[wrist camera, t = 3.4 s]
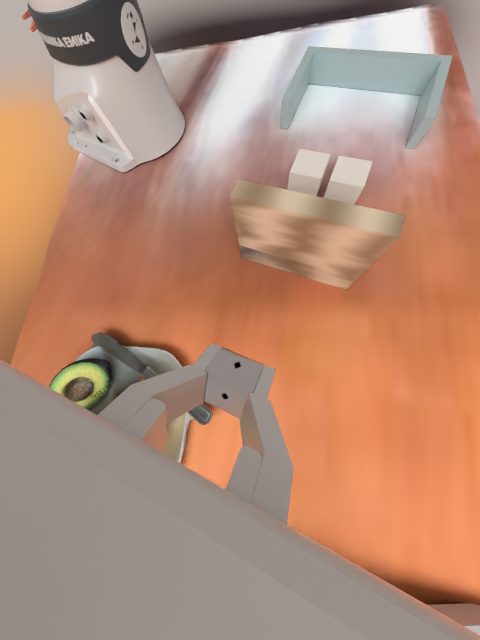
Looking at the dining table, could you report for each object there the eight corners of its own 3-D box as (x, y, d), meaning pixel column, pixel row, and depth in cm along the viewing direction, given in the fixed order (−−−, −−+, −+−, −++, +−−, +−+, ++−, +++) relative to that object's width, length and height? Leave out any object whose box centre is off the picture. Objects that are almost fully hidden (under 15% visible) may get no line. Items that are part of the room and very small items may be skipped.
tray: (280, 128, 32) (282, 99, 28) (303, 78, 34) (308, 46, 31) (414, 148, 28) (435, 118, 24) (431, 91, 30) (452, 55, 27)
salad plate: (223, 344, 24) (215, 338, 20) (204, 514, 20) (187, 555, 16) (88, 332, 27) (54, 325, 23) (46, 481, 23) (-6, 508, 18)
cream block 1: (286, 199, 28) (289, 172, 25) (295, 178, 29) (299, 148, 25) (313, 205, 28) (321, 178, 24) (321, 183, 28) (330, 154, 24)
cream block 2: (320, 206, 27) (329, 180, 24) (328, 184, 28) (338, 155, 24) (349, 213, 27) (364, 187, 23) (357, 190, 27) (372, 161, 23)
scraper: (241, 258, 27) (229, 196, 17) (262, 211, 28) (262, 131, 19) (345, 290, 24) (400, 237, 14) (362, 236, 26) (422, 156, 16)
